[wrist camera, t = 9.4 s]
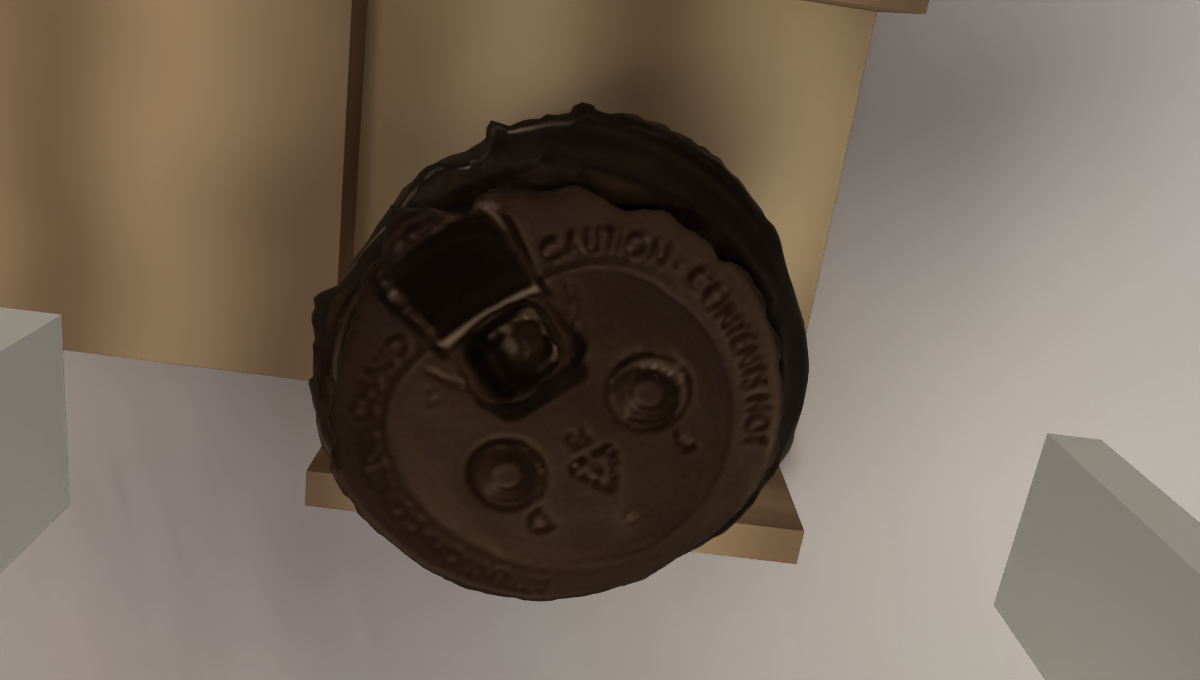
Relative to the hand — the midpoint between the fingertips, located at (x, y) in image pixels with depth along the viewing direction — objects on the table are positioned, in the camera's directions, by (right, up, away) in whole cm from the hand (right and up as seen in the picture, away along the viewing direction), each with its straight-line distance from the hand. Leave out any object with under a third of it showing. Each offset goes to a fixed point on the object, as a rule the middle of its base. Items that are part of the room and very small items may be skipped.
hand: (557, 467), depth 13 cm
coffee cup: (0, +5, +14) cm, 15 cm away
